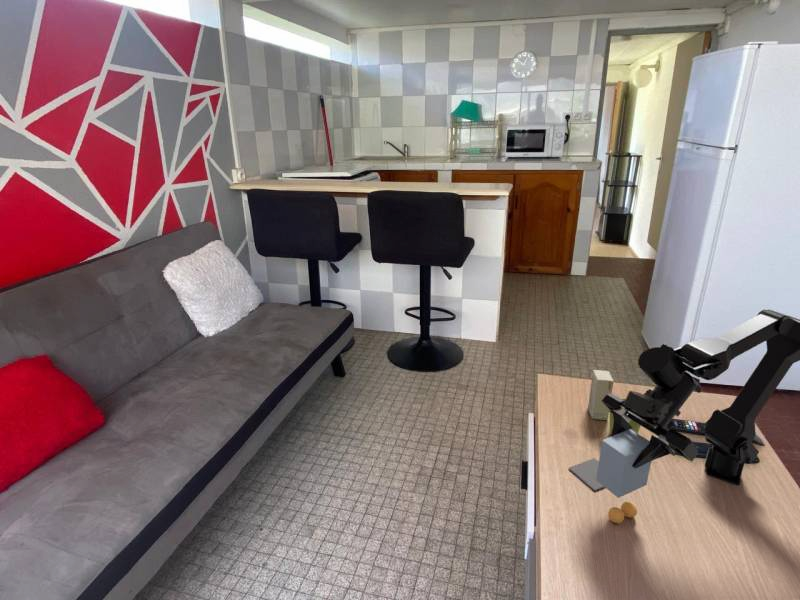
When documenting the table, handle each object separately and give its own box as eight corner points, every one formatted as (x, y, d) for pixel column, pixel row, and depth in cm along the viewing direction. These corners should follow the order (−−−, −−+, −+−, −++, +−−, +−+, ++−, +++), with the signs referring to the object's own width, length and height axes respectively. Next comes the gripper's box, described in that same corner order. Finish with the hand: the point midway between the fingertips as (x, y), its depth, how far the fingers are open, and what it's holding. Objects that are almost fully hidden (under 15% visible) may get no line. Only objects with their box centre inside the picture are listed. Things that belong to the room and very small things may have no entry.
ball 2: (637, 513, 96) (639, 502, 95) (634, 523, 94) (636, 511, 93) (621, 507, 98) (623, 496, 97) (618, 516, 96) (620, 505, 95)
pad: (594, 459, 112) (594, 458, 112) (621, 480, 105) (621, 479, 105) (568, 468, 109) (568, 467, 109) (594, 491, 102) (594, 490, 102)
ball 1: (624, 519, 95) (626, 508, 94) (621, 529, 93) (623, 517, 92) (609, 513, 97) (611, 501, 96) (605, 522, 94) (607, 510, 93)
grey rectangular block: (623, 468, 99) (630, 429, 96) (646, 485, 95) (654, 444, 91) (596, 480, 96) (602, 440, 93) (618, 498, 92) (625, 456, 88)
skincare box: (608, 421, 127) (614, 381, 123) (591, 419, 128) (597, 380, 124) (603, 408, 133) (609, 370, 129) (587, 406, 134) (592, 368, 130)
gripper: (613, 358, 97) (567, 417, 96) (700, 402, 81) (646, 473, 81) (634, 382, 103) (591, 438, 102) (719, 428, 87) (669, 494, 86)
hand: (620, 458), depth 93 cm, fingers closed on grey rectangular block, 6 cm apart
